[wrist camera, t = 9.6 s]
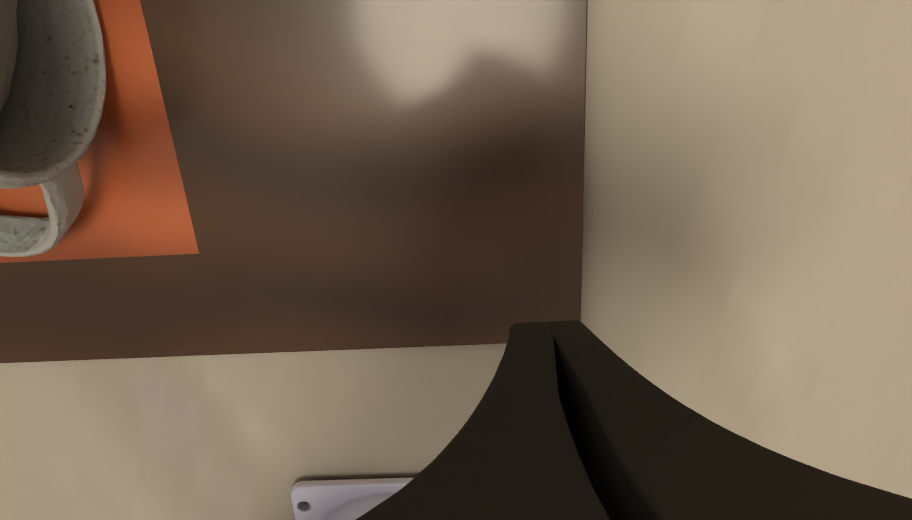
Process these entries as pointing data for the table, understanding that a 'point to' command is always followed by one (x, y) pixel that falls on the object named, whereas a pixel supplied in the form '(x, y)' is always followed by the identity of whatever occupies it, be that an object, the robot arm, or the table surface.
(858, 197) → the table surface
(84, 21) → the ceramic mug
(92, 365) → the table surface
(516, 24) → the walnut board
